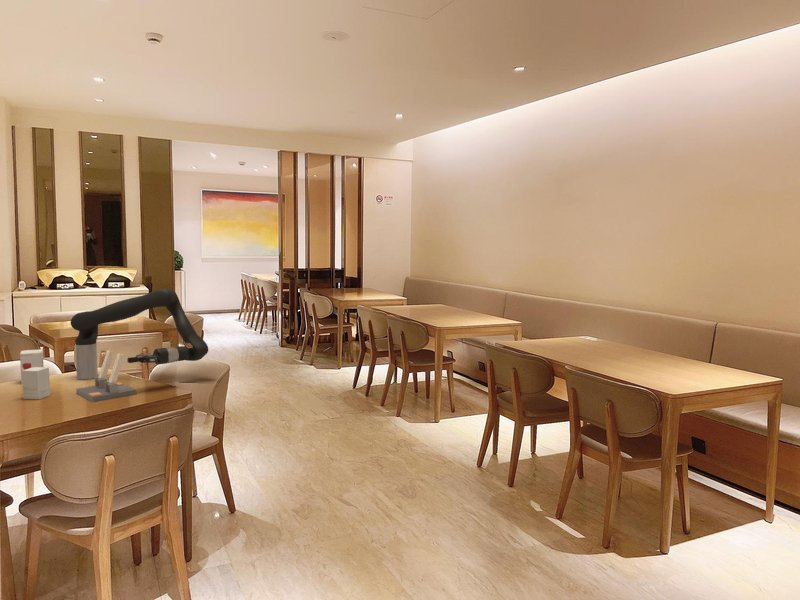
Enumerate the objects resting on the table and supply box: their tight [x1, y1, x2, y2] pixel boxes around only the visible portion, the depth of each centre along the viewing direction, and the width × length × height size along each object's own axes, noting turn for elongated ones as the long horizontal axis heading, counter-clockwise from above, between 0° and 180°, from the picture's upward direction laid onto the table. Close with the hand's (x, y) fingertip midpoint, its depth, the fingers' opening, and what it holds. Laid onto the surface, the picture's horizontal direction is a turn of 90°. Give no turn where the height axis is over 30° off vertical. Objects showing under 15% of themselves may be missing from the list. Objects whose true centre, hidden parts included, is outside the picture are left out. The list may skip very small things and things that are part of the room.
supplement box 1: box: [19, 349, 44, 385], centre depth 266 cm, size 9×9×15 cm
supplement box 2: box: [21, 366, 51, 400], centre depth 238 cm, size 7×7×13 cm
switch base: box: [75, 377, 137, 403], centre depth 246 cm, size 20×18×6 cm
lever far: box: [97, 349, 115, 382], centre depth 251 cm, size 3×2×15 cm
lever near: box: [107, 352, 126, 387], centre depth 243 cm, size 3×2×15 cm
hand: (128, 360), depth 246 cm, fingers closed
